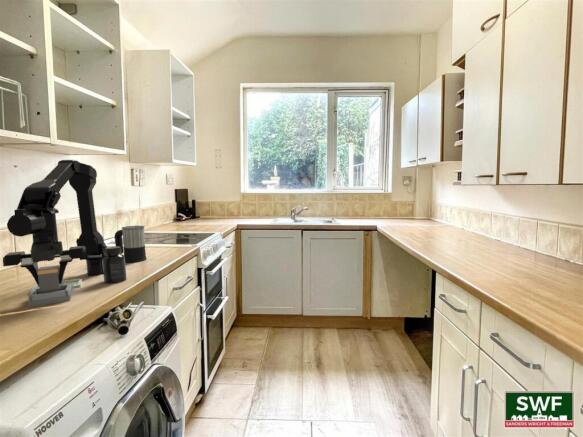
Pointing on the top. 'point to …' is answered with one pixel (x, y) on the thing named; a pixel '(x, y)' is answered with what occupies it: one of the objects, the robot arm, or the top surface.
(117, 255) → the supplement bottle
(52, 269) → the plug
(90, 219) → the robot arm
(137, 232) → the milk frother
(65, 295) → the grey storage bin
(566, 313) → the top surface
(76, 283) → the tray
